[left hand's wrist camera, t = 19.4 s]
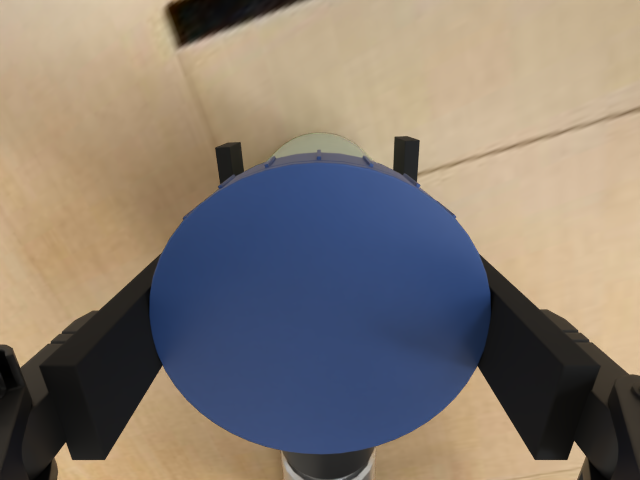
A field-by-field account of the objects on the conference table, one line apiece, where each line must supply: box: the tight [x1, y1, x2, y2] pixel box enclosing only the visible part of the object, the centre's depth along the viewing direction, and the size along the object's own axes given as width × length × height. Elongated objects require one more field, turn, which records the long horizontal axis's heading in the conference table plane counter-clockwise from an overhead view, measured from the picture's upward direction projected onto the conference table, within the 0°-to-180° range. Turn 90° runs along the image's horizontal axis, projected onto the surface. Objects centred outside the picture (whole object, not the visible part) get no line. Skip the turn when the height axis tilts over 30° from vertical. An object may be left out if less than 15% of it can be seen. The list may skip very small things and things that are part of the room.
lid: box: [149, 150, 491, 454], centre depth 11 cm, size 10×10×2 cm
